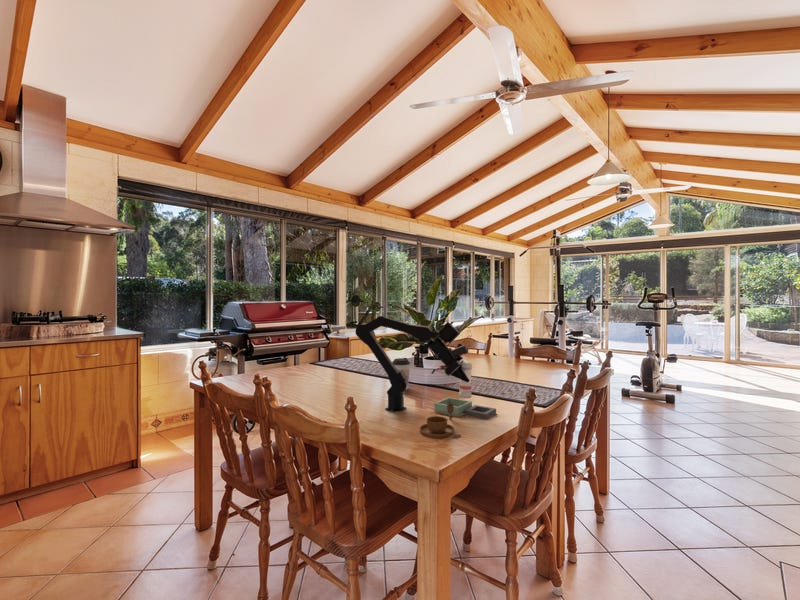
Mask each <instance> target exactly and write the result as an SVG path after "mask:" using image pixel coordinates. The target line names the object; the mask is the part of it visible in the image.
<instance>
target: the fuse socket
mask: <svg viewBox="0 0 800 600" xmlns="http://www.w3.org/2000/svg"><path fill="white" fill-rule="evenodd" d="M495 415H497V408H495V407H489V406H482V405H477V404H475V405H472V407H470V408H468V409H466V410H465V414H464V416H466V417H472V418H477V419H481V420H488V419H490V418H491V417H493V416H495Z"/></svg>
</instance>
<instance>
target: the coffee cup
mask: <svg viewBox="0 0 800 600" xmlns="http://www.w3.org/2000/svg"><path fill="white" fill-rule="evenodd" d="M391 362H392V363H393V364H394V366H395V367H396V368H397V369H398V370H399V371H401V370H402V369H403V371H404V373H405V375H406V376H408V378H407V379H408V382H409V380H410V370H411V369H410V365H411V363H410V360H408V358H407V357H399V358H398V357H397V358H394V359H393V361H391ZM408 389H409V385H408V386H407V387H406V389H405V390H404V391H407V390H408Z"/></svg>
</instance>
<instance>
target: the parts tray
mask: <svg viewBox="0 0 800 600" xmlns="http://www.w3.org/2000/svg"><path fill="white" fill-rule="evenodd" d="M449 404H451V405H454V410H453V412H452V413H451V416H452V417H453V416H454V417H457V418H458V417H461V416H463V415H465V410H466V409H468V408H470V407H472V406H473V401H471V400H466V399H460V398H454V397H445V398H443V399H441V400H439V401H437V402H434V405H433V407H434V411H433V412H434V413H439V414H443V415H448V416H449V413H448V411H447V405H449Z"/></svg>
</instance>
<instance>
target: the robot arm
mask: <svg viewBox="0 0 800 600" xmlns="http://www.w3.org/2000/svg"><path fill="white" fill-rule="evenodd" d="M380 327H385V328H388V329H392V330H394V331H398V332H402V333H405V334H408V335H410V336H412V337H413V338H415V339H417V340H419V341H422V342H425V343H423V351H426V350H428V349H429V350H430V351H431V352H432V353H433V354H434V355H435V356H436V357H437V360H438V361H440V362H441V363H442V364H443V366H444V367H445V368H444V373H445V375H446V376H448V377H449V376H452V377H454V378H457V379H459V380H460V379H461V380H463V381H465V382H469V379H468V377H467V376H466V374H465V373H464V371H463V370H462V364H461V365H460V363H464V357H463V355H467V354H468V353H469V349H468V348H467V346H466V344H462V343H461V342H460V343H458V344H456V347H455V348H453V349H452V348H451V347H448V346H447V345H446V344H447V343H449V344H451V343H452V342H453V341H454V340H455V339H456V338H457V337H459V335H460V334H461V333H460V331H459V330H458V329H457V328H456V327H455V326H453V325H452V323H450V322H449V321H447V322H446V323H445V324H444V326H443V327H441V328H440V329H439V330H438V329H433V328H431V327H430V326H428V325H421V324H411V323H408V322H404V321H400V320H397V319H394V318H390V317H386V316H385V315H379V316H378V317H376V318H374V319H373V320H370V321H369V322H367V323H366V322H365V323H360V324H359V325H357V326H356V328H355V335H356V337H357V338H358V339H359V340H360V341H361V342H362V343H364V344H365V345H367V347H368V348H369V350H370V351H371V352H372V354H373V355H374V357H375V358H376V360H377V362H379V364H380V366H381V367H382V369H383V370H384V371H385V373H386V374H387V376H388V380H389V383H390V385H391V386H390V387H389V388H388V389H387V391H386V394H387V407H385V408H384V409H385V410H386V411H390V412H395V413H399V412H401V411H405V410H407V407H406V406H405V403H404V401H405V400H404V399H405V398H404V392H405V391H406V390H405V389H406V387H407V386H408V387H409V381H408V379H407V378H408V376H406V375H405V373H404V371H403V369H402V370H401V371H399V370H398V369H397V368H396V367H395V366H394V364H393V363H392V362H393V361H392V360H391V359H390V357H389V356H388V355H387V352H386V351H385V350H384V348H383V347H382V346H381V344H380V343H379V341H378V339H377V335H376V333H375V330H377V329H379V328H380ZM433 338H435V339H433Z"/></svg>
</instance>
